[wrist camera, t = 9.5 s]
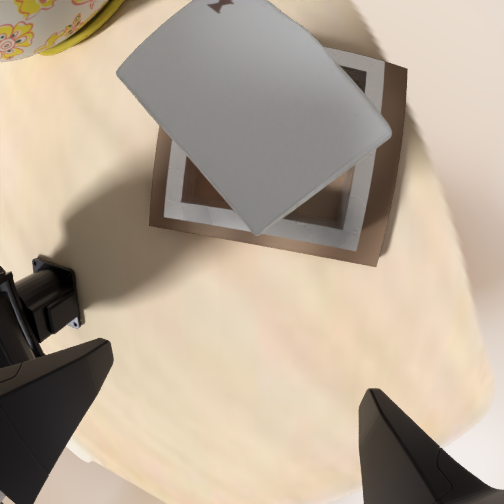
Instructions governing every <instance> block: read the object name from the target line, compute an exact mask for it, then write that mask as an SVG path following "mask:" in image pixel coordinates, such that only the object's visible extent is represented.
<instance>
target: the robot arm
mask: <svg viewBox="0 0 504 504" xmlns="http://www.w3.org/2000/svg"><path fill="white" fill-rule="evenodd" d="M32 264H33V272H34V273H33V274H31V275H29V276H27V277H25V278H23V279H21V280H19V281H17V282H16V283H14V280H13V274H12V271H11V272H7V273H6V272H5V271H4V269H3V268H2V267H1V266H0V504H3V503H2V500H3V499H4V497H5V496H7V497H8V498H9V499H11V500H12V501H13V502H14V503H15V504H33V503H34V502H35V500H36V498H37V495H38V494H39V492H40V490H41V488H42V487H43V485H44V483H45V481H46V479H47V478H48V476H49V475H48V474H50V472H51V470H52V468H53V467H54V465H55V463H56V462H57V460H58V458H59V456H60V455H61V453H62V451H63V450H64V448H65V446H66V445H67V443H68V441H69V440H70V438H71V436H72V435H73V433H74V431H75V430H76V428H77V427H78V425H79V423H80V422H81V420H82V418H83V417H84V415H85V414H86V412H87V411H88V409H89V407H90V406H91V404H92V403H93V401H94V400H95V398H96V396H97V395H98V393H99V391H100V389H101V387H102V385H103V383H104V381H105V379H106V377H107V375H108V373H109V371H110V369H111V367H112V365H113V361H114V358H113V352H112V347H111V343H110V341H108V340H106V339H103V338H98V339H95V340H92V341H89V342H86V343H83V344H80V345H77V346H73V347H70V348H67V349H64V350H61V351H58V352H55V353H52V354H48V355H45V353H43V351H42V349H41V347H40V345H39V343H41V342H42V341H44V340H45V339H46V338H48V337H49V336H50V335H51V334H56V333H57V332H58V331H59V330H61V329H62V328H63V327H65V326H66V325H69V326H71V327H74V328H76V329H78V328H79V327H81V321H80V315H79V308H78V300H77V292H76V282H75V274H74V271H73V270H71V269H69V268H66V267H63V266H59V265H56V264H53V263H50V262H47V261H44V260H41V259H39V258H35V259H33V261H32ZM359 455H360V464H361V474H362V485H363V498H364V504H504V490H499V489H495V488H492V487H490V486H488V485H487V484H485V483H484V482H482V481H481V480H480V479H478V478H477V477H476V476H474V475H473V474H472V473H470V472H469V471H467V470H466V469H465V468H464V467H462V466H461V465H460V464H459V463H457V462H456V461H455V460H454V459H453V458H452V457H450V455H448V454H447V453H446V452H445V451H444V450H443V449H442V448H440V446H439V445H438V444H437V443H436V442H435V441H434V440H433V439H431V438H430V437H429V436H428V435H427V434H426V433H425V432H424V431H423V430H422V429H421V428H420V427H419V426H418V425H417V424H416V423H415V422H414V421H413V420H412V419H411V418H410V417H409V416H408V415H406V414H405V413H404V412H403V411H402V410H401V409H400V408H399V407H398V406H397V405H396V404H395V403H394V402H393V401H392V400H391V399H390V398H389V397H388V396H387V395H386V394H385V393H384V392H383V391H382V390H381V389H378V388H369V389H368V390H367V391H366V393H365V395H364V397H363V399H362V401H361V403H360V406H359Z"/></svg>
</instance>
